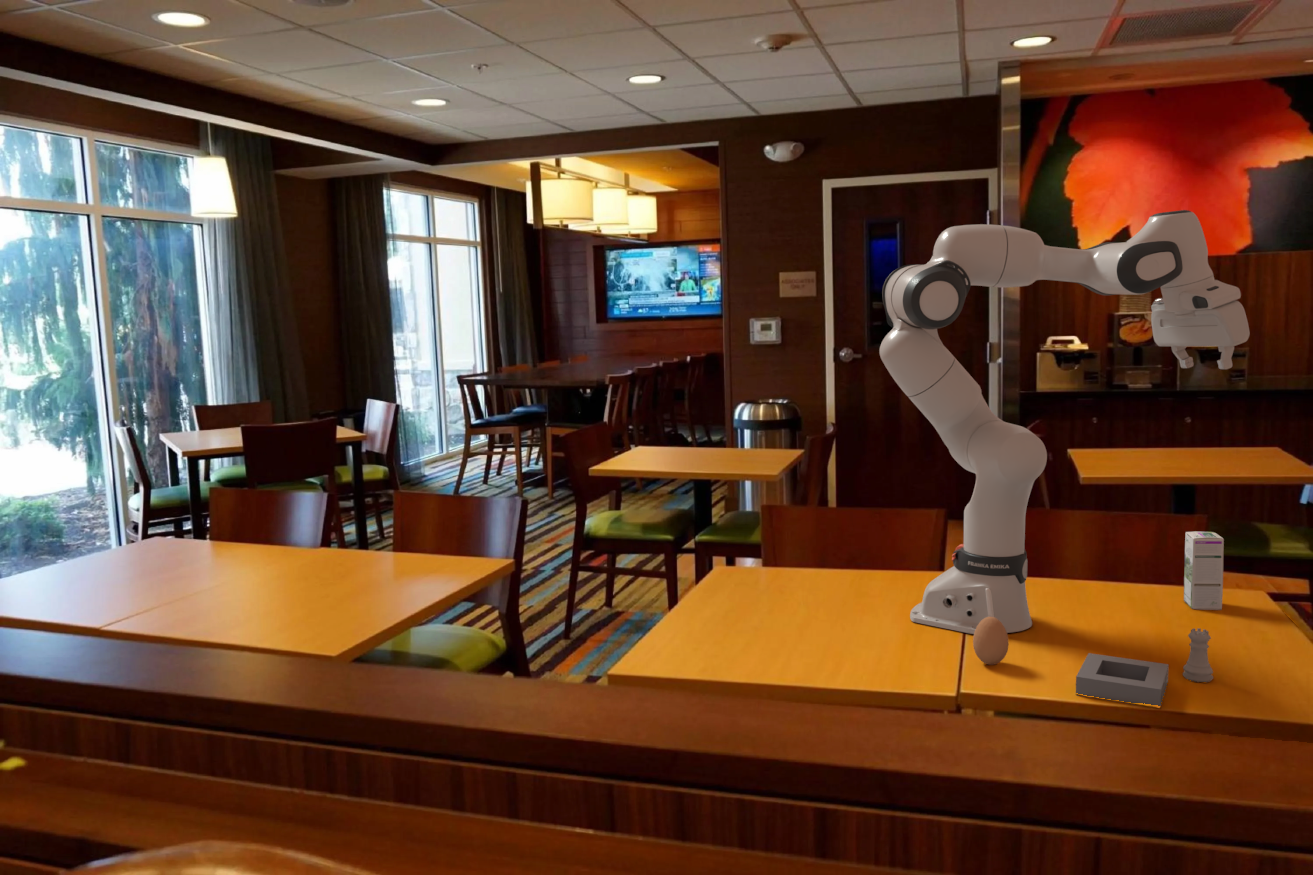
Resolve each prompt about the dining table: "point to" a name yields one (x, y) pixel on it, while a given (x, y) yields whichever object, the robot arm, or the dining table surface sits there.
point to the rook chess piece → (1198, 657)
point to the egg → (990, 641)
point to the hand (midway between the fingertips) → (1206, 367)
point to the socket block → (1122, 679)
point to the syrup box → (1203, 570)
